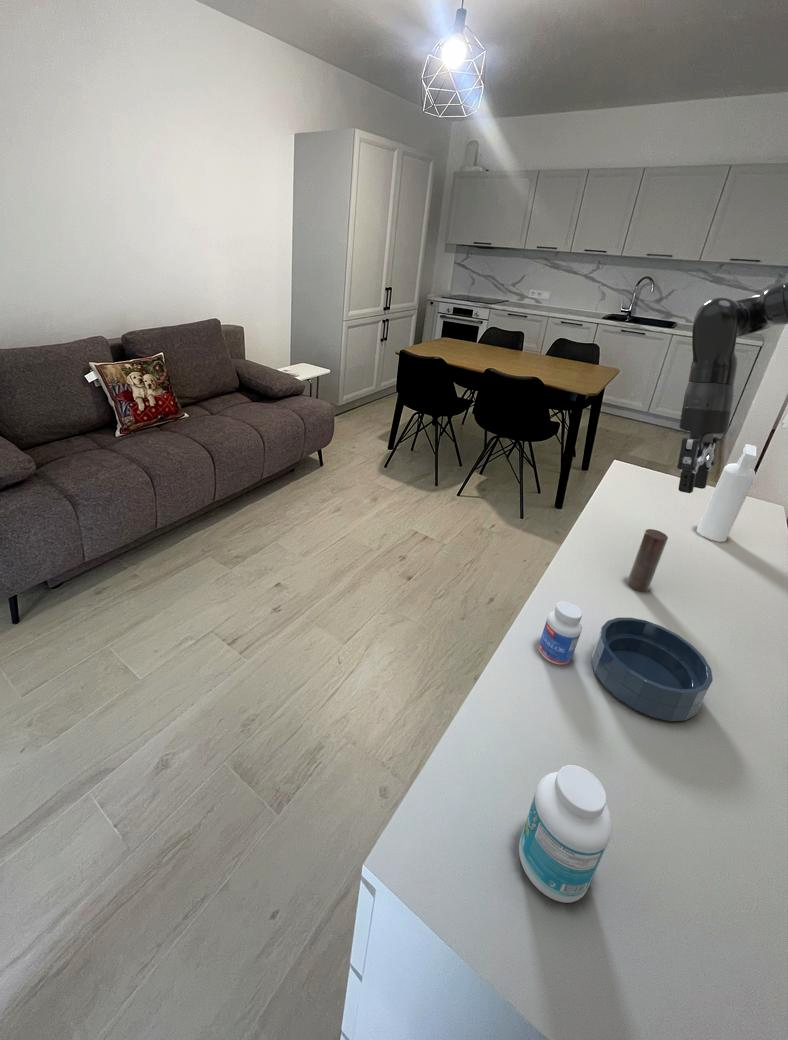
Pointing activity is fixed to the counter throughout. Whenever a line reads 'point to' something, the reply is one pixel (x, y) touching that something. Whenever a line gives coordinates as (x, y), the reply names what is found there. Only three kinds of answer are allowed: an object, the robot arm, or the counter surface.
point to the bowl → (651, 668)
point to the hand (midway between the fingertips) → (692, 489)
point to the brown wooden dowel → (647, 560)
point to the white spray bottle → (728, 497)
